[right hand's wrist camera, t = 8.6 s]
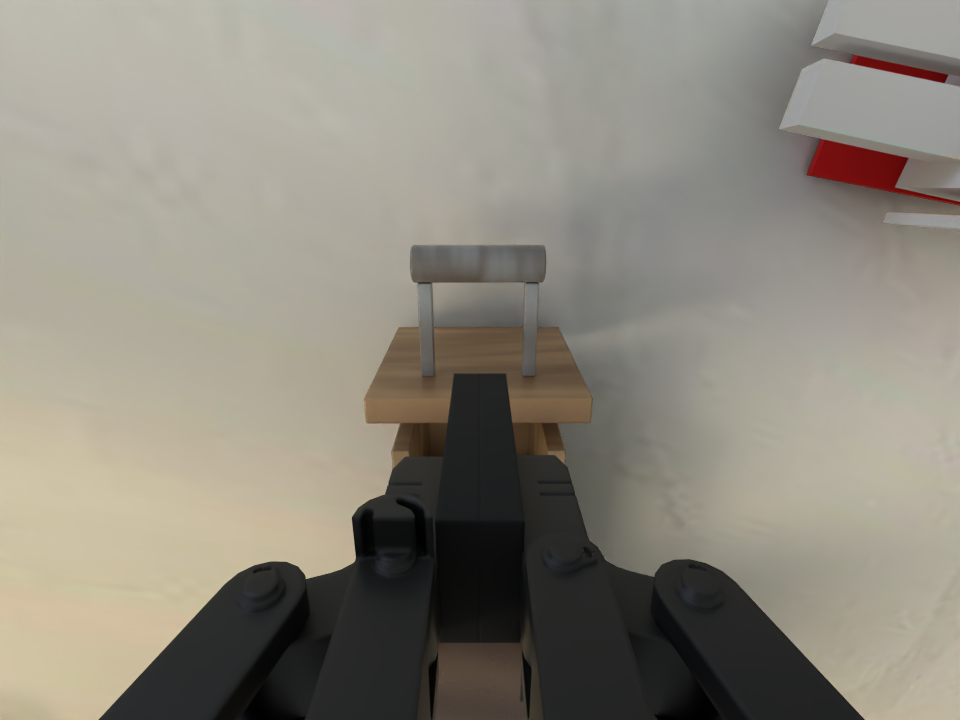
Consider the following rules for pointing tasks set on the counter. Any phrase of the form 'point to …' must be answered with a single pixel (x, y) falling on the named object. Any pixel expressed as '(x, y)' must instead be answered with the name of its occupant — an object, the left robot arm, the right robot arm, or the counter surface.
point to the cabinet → (479, 681)
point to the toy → (886, 101)
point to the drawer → (477, 358)
